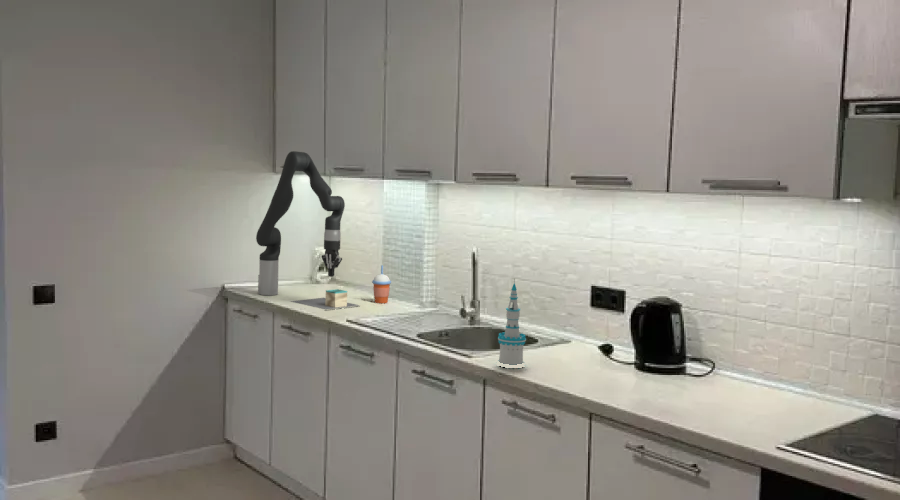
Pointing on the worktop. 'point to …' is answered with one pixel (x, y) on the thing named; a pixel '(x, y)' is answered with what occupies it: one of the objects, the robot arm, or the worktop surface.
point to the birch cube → (336, 298)
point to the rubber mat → (321, 303)
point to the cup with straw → (381, 287)
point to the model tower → (512, 335)
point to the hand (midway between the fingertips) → (331, 276)
